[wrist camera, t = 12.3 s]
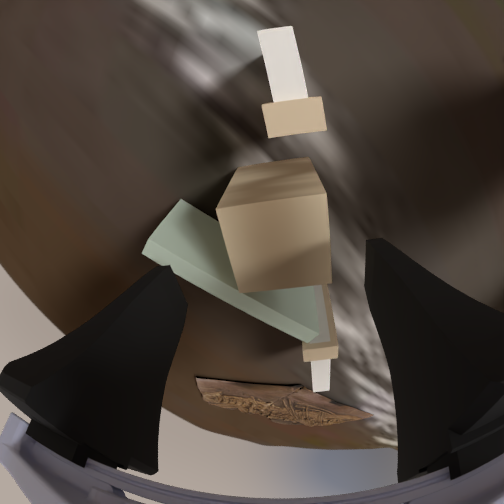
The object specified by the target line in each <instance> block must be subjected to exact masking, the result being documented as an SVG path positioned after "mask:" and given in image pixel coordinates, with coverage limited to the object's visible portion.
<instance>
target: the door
mask: <svg viewBox="0 0 504 504" xmlns="http://www.w3.org/2000/svg"><path fill="white" fill-rule="evenodd" d="M142 254H143V255H145V256H147V257H148V258H150V259H152V260H153V261H155V262H157V263H158V264H160V265H162V266H165V265H170V266H171V268H172V270H173V273H175V274H177V275H179V276H180V277H182V278H184V279H186V280H187V281H189V282H191V283H193V284H194V285H196V286H198V287H200V288H201V289H203V290H205V291H207V292H209V293H210V294H212V295H214V296H216V297H218V298H220V299H221V300H223V301H225V302H227V303H229V304H231V305H232V306H234V307H236V308H238V309H240V310H242V311H244V312H246V313H248V314H250V315H251V316H253V317H255V318H257V319H259V320H261V321H263V322H265V323H267V324H269V325H271V326H273V327H275V328H277V329H279V330H281V331H283V332H285V333H287V334H289V335H291V336H293V337H295V338H297V339H300V340H302V341H304V342H306V343H309V342H310V341H311V340H312V339H314V338H315V337H316V336H318V335H319V334H320V333H319V325H318V316H317V308H316V301H315V293H314V286H306V287H297V288H288V289H278V290H269V291H258V292H248V293H239V290H238V286H237V283H236V280H235V276H234V273H233V269H232V266H231V262H230V259H229V255H228V252H227V248H226V245H225V241H224V238H223V234H222V230H221V227H220V223H219V222H218V221H216V220H215V219H213V218H211V217H210V216H208V215H207V214H205V213H203V212H202V211H200V210H198V209H197V208H195V207H193V206H192V205H190V204H188V203H187V202H185V201H184V200H182V199H180V201H179V202H178V203H177V204H176V205H175V206H174V208H173V209H172V210H171V211H170V212H169V214H168V215H167V216H166V217H165V219H164V220H163V221H162V222H161V223H160V225H159V226H158V227H157V228H156V230H155V231H154V232H153V233H152V235H151V236H150V237H149V239H148V241H147V243H146V245H145V247H144V250H143V252H142Z"/></svg>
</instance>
